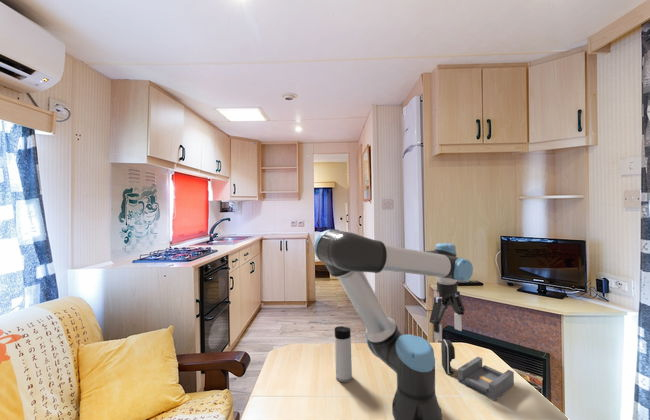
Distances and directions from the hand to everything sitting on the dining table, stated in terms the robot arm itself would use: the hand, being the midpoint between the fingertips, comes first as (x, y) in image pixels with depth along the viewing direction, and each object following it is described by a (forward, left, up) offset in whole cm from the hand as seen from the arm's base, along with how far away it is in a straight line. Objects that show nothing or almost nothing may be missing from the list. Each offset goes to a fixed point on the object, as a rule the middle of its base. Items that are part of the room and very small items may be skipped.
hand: (448, 334), depth 114 cm
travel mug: (-37, +21, -15) cm, 45 cm away
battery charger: (0, 0, -15) cm, 15 cm away
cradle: (+3, -13, -14) cm, 19 cm away
